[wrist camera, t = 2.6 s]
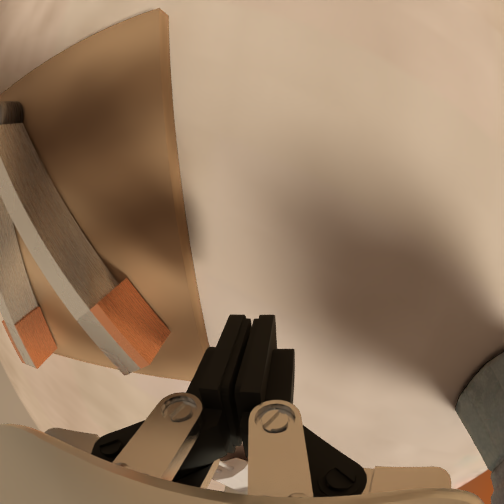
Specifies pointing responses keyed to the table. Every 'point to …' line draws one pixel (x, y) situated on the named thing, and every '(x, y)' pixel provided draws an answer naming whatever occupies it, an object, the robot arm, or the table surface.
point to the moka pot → (487, 419)
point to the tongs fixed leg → (20, 300)
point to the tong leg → (72, 255)
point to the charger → (233, 475)
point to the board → (117, 181)
